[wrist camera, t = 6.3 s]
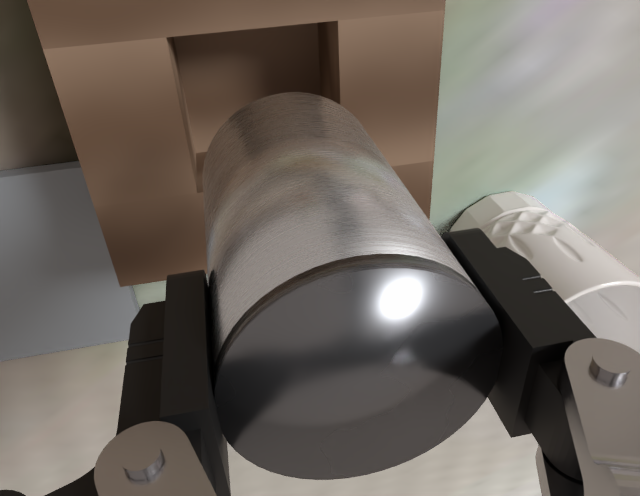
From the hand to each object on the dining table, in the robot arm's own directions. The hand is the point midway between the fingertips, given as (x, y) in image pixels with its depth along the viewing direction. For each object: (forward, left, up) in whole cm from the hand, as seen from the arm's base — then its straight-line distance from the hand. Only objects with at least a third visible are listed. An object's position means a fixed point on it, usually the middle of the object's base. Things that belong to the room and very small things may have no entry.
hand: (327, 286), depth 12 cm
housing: (0, 0, -17) cm, 17 cm away
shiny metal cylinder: (0, 0, -5) cm, 5 cm away
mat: (+9, -13, -17) cm, 23 cm away
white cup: (+12, +14, -17) cm, 25 cm away
